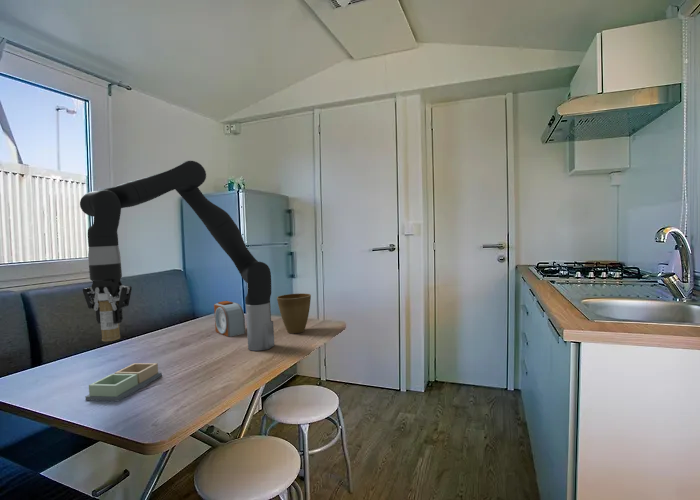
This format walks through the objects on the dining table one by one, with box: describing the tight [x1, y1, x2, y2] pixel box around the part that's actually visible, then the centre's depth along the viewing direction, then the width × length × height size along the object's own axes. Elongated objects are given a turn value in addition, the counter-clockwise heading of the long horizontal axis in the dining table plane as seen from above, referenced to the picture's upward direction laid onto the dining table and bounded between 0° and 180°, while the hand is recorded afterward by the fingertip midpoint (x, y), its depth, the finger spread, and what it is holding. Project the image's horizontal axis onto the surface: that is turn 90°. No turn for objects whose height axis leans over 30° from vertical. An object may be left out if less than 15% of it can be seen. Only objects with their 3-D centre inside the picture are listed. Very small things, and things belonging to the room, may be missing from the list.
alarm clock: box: [213, 300, 247, 338], centre depth 168 cm, size 15×8×14 cm, turn 43°
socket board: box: [84, 362, 163, 402], centre depth 110 cm, size 10×18×4 cm, turn 171°
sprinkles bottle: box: [98, 293, 121, 342], centre depth 104 cm, size 5×5×13 cm
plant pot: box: [276, 292, 312, 335], centre depth 164 cm, size 15×15×16 cm
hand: (109, 322), depth 105 cm, fingers closed on sprinkles bottle, 4 cm apart
